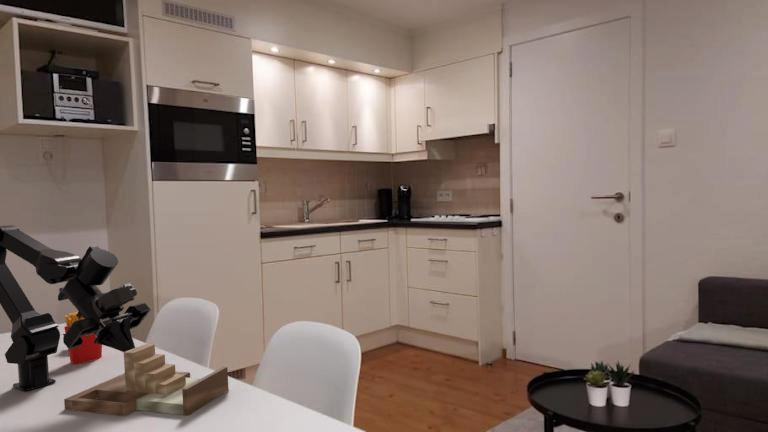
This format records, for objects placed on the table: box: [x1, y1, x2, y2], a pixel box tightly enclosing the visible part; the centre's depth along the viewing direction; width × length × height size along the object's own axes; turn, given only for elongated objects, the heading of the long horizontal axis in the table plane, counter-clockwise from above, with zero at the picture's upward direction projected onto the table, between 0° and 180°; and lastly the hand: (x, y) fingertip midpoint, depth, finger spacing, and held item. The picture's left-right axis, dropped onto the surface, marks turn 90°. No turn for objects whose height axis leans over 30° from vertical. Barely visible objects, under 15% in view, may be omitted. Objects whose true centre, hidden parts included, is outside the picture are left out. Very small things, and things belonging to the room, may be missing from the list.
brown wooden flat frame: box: [63, 366, 230, 417], centre depth 110 cm, size 27×19×5 cm
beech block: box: [123, 343, 186, 395], centre depth 110 cm, size 10×6×8 cm, turn 72°
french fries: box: [64, 311, 103, 365], centre depth 139 cm, size 9×4×13 cm, turn 141°
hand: (133, 353), depth 111 cm, fingers closed, pressing on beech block
